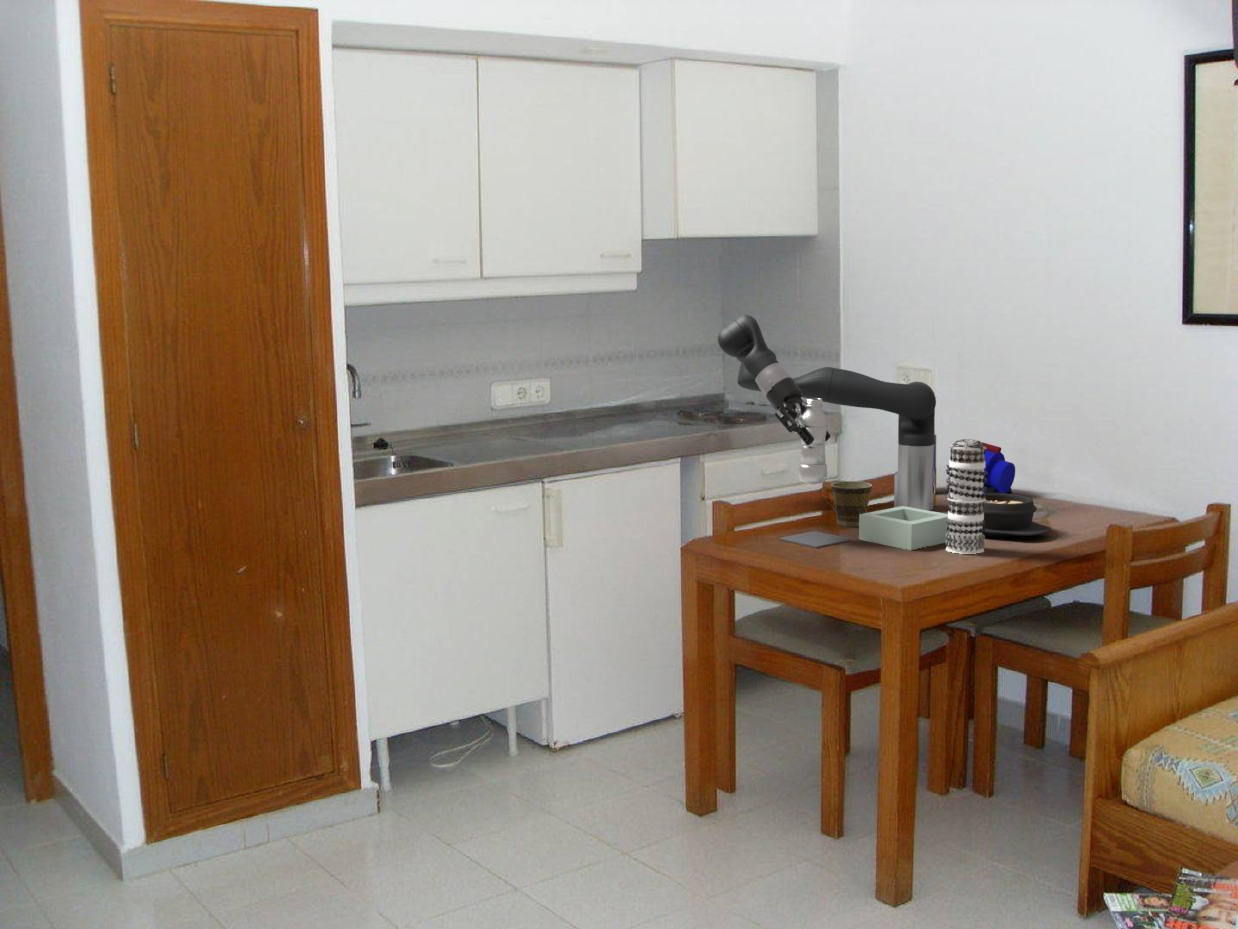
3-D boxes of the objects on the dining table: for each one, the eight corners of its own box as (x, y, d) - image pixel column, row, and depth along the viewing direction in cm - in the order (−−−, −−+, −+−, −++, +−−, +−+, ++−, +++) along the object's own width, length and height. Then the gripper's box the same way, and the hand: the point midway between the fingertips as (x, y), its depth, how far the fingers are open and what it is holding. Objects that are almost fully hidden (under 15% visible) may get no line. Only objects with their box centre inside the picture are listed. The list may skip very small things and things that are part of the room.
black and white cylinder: (935, 550, 293) (938, 440, 289) (959, 544, 299) (962, 436, 295) (970, 557, 286) (973, 444, 282) (993, 550, 292) (997, 440, 288)
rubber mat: (778, 539, 306) (778, 538, 306) (814, 532, 314) (814, 531, 314) (816, 548, 297) (816, 546, 297) (851, 540, 304) (851, 539, 304)
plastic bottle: (828, 486, 300) (830, 400, 296) (798, 486, 300) (800, 400, 297) (825, 481, 306) (827, 397, 303) (796, 481, 307) (798, 397, 303)
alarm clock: (978, 490, 367) (980, 437, 364) (1019, 495, 358) (1021, 441, 356) (957, 496, 358) (958, 442, 356) (998, 501, 350) (1000, 446, 347)
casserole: (932, 530, 315) (932, 496, 313) (978, 519, 326) (979, 487, 325) (1021, 547, 296) (1023, 510, 294) (1067, 535, 307) (1068, 500, 306)
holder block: (859, 539, 305) (859, 514, 304) (902, 530, 315) (902, 506, 314) (911, 550, 293) (911, 524, 292) (954, 540, 303) (955, 515, 302)
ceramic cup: (869, 520, 327) (870, 481, 326) (873, 528, 317) (873, 488, 316) (817, 520, 329) (817, 481, 327) (819, 528, 319) (819, 488, 317)
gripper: (786, 394, 314) (826, 447, 308) (750, 399, 303) (791, 455, 297) (805, 373, 309) (846, 427, 303) (769, 378, 299) (811, 434, 293)
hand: (819, 441), depth 300 cm, fingers closed on plastic bottle, 6 cm apart
